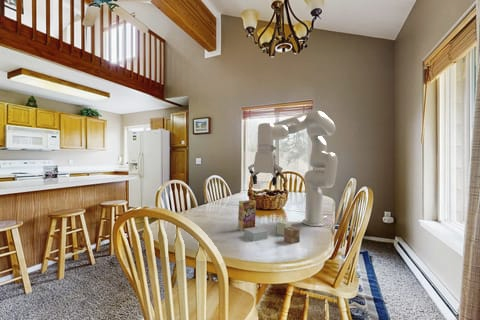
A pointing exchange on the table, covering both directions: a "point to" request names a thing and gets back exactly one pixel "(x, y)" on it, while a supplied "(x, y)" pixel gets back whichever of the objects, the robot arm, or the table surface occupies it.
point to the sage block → (282, 226)
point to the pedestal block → (255, 233)
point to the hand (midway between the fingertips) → (264, 184)
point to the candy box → (246, 214)
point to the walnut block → (291, 235)
